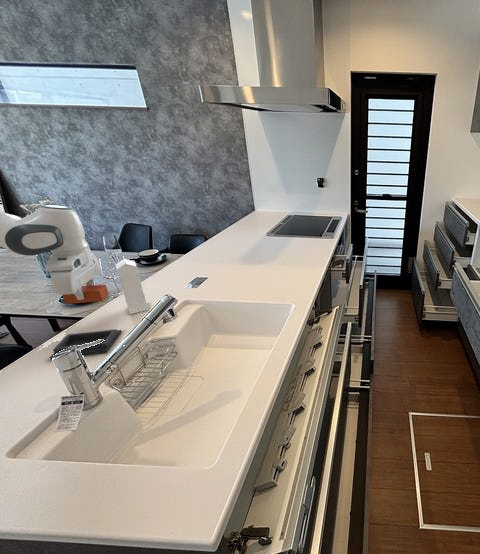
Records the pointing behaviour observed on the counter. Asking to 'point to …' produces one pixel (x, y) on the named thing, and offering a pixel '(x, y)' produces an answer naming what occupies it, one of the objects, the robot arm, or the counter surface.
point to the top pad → (88, 294)
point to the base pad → (89, 337)
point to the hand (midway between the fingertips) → (86, 294)
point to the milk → (131, 286)
